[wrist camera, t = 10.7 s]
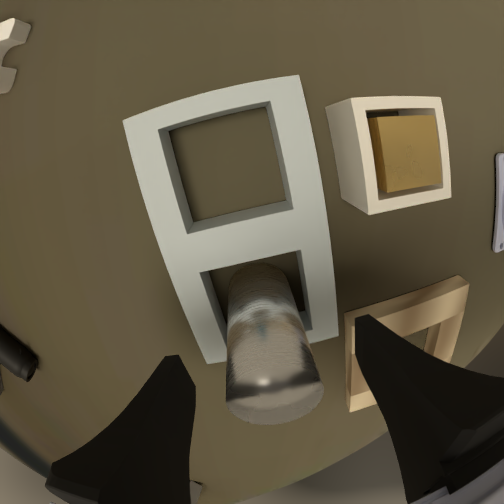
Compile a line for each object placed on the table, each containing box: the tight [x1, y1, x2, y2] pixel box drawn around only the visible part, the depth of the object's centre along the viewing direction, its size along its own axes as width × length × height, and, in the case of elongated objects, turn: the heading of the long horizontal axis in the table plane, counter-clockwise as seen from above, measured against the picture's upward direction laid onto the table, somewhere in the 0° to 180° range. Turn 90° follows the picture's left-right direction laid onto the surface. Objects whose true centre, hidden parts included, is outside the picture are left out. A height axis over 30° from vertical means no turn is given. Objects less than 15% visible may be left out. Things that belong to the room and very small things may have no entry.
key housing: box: [325, 96, 451, 215], centre depth 12 cm, size 5×5×4 cm
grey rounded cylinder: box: [226, 263, 324, 425], centre depth 13 cm, size 4×4×8 cm
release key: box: [367, 115, 441, 193], centre depth 11 cm, size 3×3×3 cm
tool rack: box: [123, 75, 339, 364], centre depth 14 cm, size 8×14×2 cm, turn 13°
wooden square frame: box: [344, 275, 469, 412], centre depth 18 cm, size 10×10×2 cm
